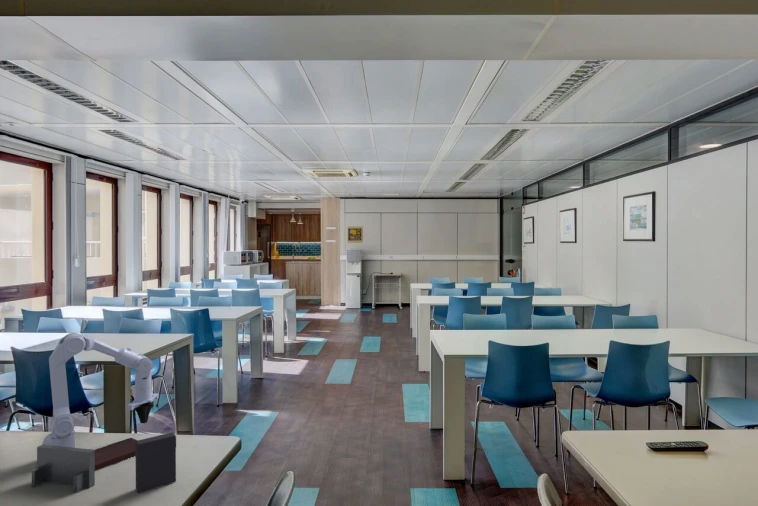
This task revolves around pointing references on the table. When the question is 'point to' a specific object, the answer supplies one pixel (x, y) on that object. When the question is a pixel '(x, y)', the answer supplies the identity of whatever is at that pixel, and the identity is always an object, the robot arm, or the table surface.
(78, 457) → the bookend
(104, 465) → the book
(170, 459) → the upright charcoal tile
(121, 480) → the table surface
